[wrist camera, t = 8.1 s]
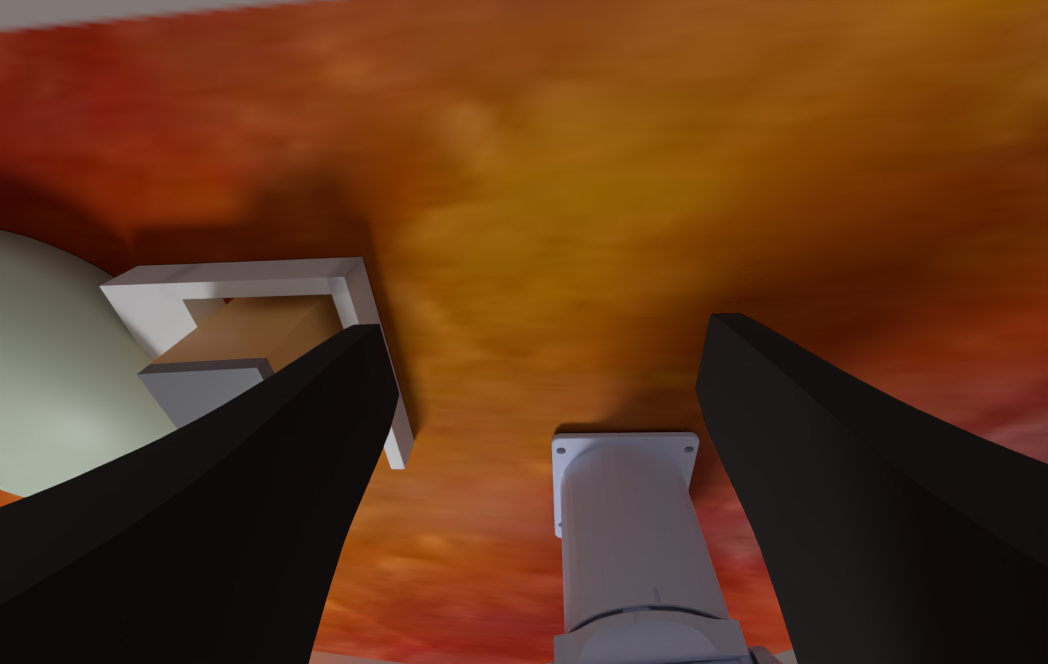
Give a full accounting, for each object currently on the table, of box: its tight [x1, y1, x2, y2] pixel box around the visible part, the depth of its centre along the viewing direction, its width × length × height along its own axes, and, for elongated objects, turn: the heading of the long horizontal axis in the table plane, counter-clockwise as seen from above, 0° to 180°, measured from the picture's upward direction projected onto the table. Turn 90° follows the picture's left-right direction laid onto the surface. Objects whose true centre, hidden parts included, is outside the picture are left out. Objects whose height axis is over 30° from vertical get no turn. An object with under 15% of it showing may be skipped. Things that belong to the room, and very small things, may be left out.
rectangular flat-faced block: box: [137, 294, 344, 429], centre depth 20 cm, size 8×4×6 cm, turn 6°
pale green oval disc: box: [0, 230, 414, 498], centre depth 21 cm, size 16×26×3 cm, turn 93°
